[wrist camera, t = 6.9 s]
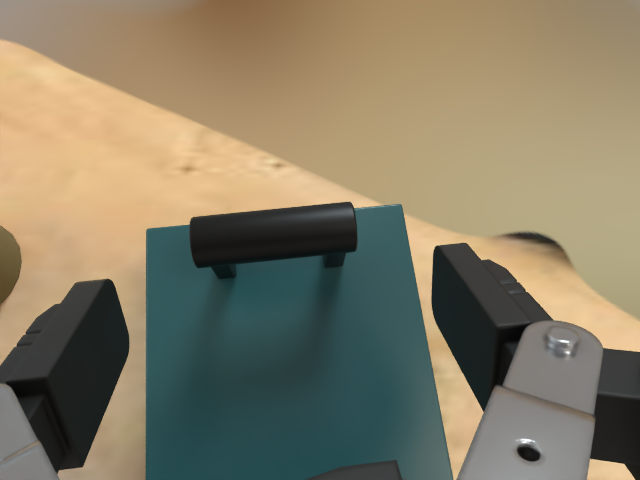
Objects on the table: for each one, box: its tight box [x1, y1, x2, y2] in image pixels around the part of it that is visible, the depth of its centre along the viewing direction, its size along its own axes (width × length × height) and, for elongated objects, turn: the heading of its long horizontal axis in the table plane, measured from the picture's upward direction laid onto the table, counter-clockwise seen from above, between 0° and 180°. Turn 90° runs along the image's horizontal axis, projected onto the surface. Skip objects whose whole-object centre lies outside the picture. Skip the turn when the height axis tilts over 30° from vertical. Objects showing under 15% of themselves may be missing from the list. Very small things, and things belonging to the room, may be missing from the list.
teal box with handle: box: [146, 202, 453, 480], centre depth 16 cm, size 10×10×5 cm
